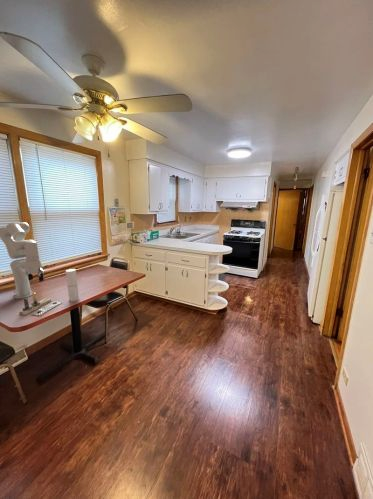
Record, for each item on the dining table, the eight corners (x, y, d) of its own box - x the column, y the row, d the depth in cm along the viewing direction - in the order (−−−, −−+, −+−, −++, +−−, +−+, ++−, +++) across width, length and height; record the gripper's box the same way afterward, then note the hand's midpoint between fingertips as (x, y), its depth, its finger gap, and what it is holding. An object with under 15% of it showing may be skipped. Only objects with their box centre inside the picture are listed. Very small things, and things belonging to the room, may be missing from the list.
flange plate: (31, 314, 147) (31, 313, 147) (54, 302, 166) (54, 301, 166) (40, 316, 146) (39, 314, 145) (61, 303, 165) (61, 301, 164)
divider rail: (19, 314, 148) (17, 301, 145) (45, 300, 169) (44, 289, 167) (25, 315, 147) (23, 302, 145) (51, 301, 168) (49, 289, 166)
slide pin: (31, 305, 156) (29, 293, 154) (35, 303, 159) (33, 292, 157) (36, 305, 155) (35, 294, 153) (40, 303, 158) (38, 292, 156)
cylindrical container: (67, 300, 169) (63, 271, 164) (74, 296, 176) (71, 268, 171) (73, 301, 167) (70, 272, 162) (80, 298, 174) (77, 269, 168)
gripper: (18, 258, 149) (22, 281, 153) (37, 260, 145) (41, 283, 149) (28, 256, 156) (31, 277, 160) (47, 257, 152) (50, 279, 156)
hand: (36, 280), depth 154 cm, fingers open, 9 cm apart
